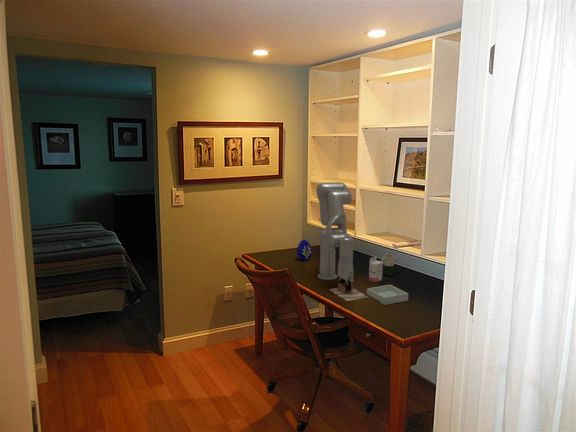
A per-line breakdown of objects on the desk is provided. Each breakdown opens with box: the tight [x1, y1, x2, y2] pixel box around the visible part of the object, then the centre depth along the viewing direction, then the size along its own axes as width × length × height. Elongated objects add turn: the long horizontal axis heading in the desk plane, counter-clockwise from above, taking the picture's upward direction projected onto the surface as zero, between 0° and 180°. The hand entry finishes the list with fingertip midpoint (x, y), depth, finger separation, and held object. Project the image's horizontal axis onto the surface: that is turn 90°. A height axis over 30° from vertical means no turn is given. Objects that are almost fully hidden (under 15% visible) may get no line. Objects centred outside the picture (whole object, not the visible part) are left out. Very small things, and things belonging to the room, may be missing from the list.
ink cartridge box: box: [368, 255, 384, 283], centre depth 278 cm, size 9×5×15 cm, turn 141°
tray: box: [366, 284, 409, 306], centre depth 249 cm, size 16×16×4 cm
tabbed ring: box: [337, 282, 356, 293], centre depth 257 cm, size 6×8×4 cm
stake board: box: [329, 281, 369, 302], centre depth 254 cm, size 20×14×6 cm
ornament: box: [296, 239, 313, 261], centre depth 324 cm, size 11×9×15 cm
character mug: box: [380, 253, 397, 276], centre depth 289 cm, size 11×7×13 cm, turn 107°
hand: (345, 288), depth 257 cm, fingers closed on tabbed ring, 5 cm apart
